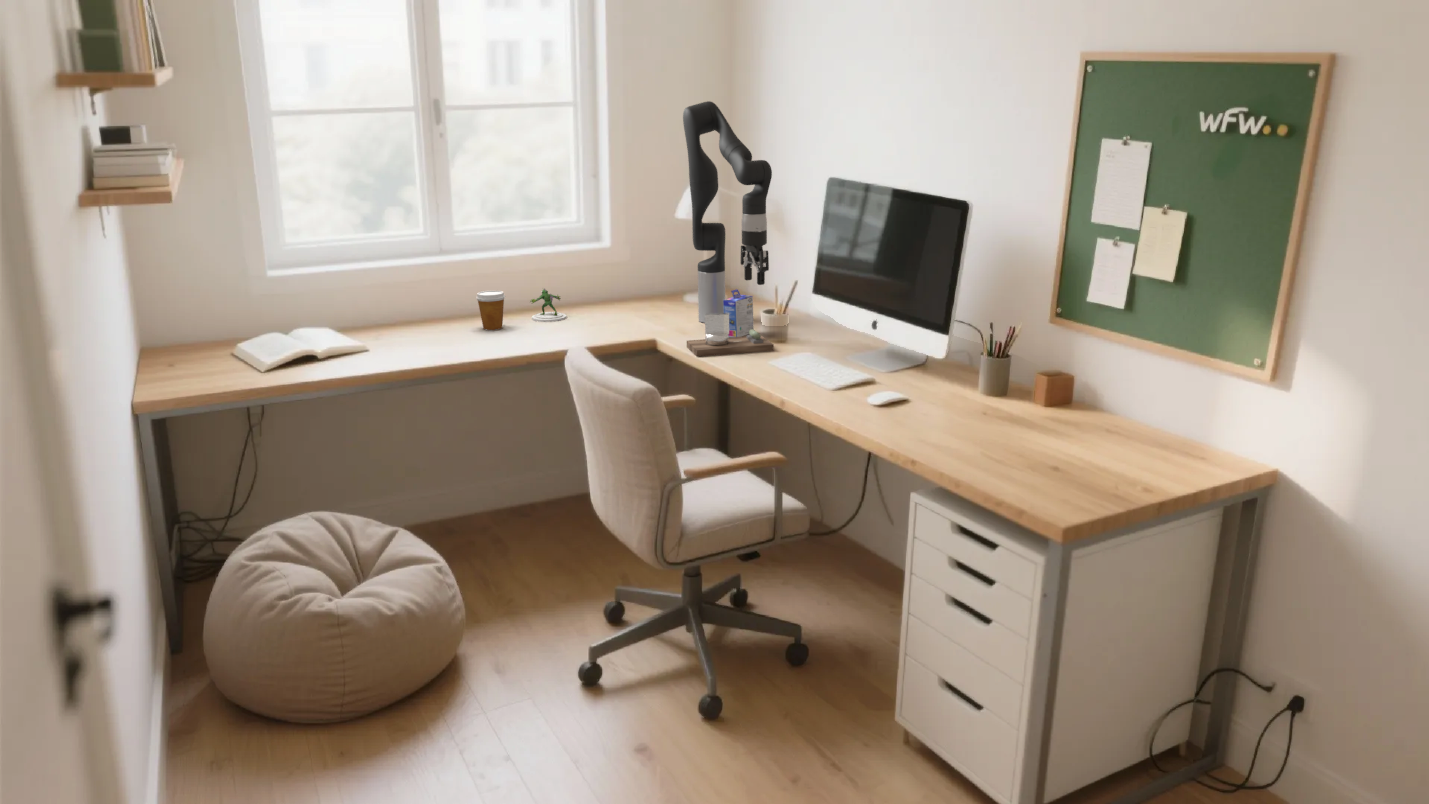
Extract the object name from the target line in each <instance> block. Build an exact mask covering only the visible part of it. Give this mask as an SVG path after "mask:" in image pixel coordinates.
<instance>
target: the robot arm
mask: <svg viewBox="0 0 1429 804" xmlns="http://www.w3.org/2000/svg"><path fill="white" fill-rule="evenodd" d="M682 123H683V124H682V125H683V130H684V137H685V142H686V149H687V158H688V160H687V161H688V178H689V189H690V191H689V192H690V198H691V215H692V216H691V217H692V228H691V229H692V245H693V247H694V249H695V250H696V251H701V252H703V251H704V252H706V251H707V252H708V251H709V252H711V251H712V252H715V253H714V254H713V255H712V256H710V257H709V258H706V259H704V260H701V261H699V262H698V263H697V295H698V296H697V298H698V299H697V301H698V303H697V305H698V306H697V307H698V313H697V314H698V321H699V322H700V323H704V324H705V314H722V313H724V305H723V300H725V299H726V261H725V258H726V255H725V254H726V253H725V251H726V227H725V225H724V223H722V222H703V218H704V215H705V213H706V212H707V210H708V208H709V206H710V205H711V203H712V202H713V200H714V199H715V197H716V196H717V193H718V191H719V176H718V175H719V174H718V168H717V166H716V164H715V163H714V162H713V161H712V159H711V158H710V157H709V156H708V155H707V153H706V152H705V151H704V149H703V147H702V145H701V140H700V139H701V138H700V137H701V135H704V134H708V133H711V132H713V131H714V132H717V133H718V134H719V140H718V147H719V152H720V154H721V156H722V157H723V158H724V159H725V160H726V161H727V163H728V164H729V165H730V166H731V169H732V170H733V173H734V176H735V178H736V180H737V182H738V183H740V184H741V185H743V186H752V185H753V189H752V191H750V192H748V193H745V194H744V195H742V202H741V203H742V215H741V217H742V218H741V243H742V245H741V246H740V265H741V266H742V267H743V269H744V271H743V273H744V280H745V281H751V280H752V279H753V266H754V267H755V269H756V284H757V285H759V286H762V285H763V286H764V285H765V283H766V282H765V281H766V280H765V277H766V276H765V275H766V272H767V271H769V270H770V269H769V268H770V263H769V260H770V259H769V250H764V248H763V247H764V246H766V245H767V243H768V242H767V241H768V220H767V219H768V218H767V197H768V194H769V189H770V186H771V181H772V179H773V178H772V176H773V170H772V166H771V165H770V163H769V162H768V161H767V160H765V159H758V160H757V159H756V160H753V154H752V152H751V150H750V149H749V148H748V147H747V146H746V145H745V144H744V143H743V141H741V140H740V139H739V137H738V136H737V135H736V133H735V132H734V129H732V127H731V125H730V123H729V122H728V120H727V119H726V117H725V116H724V114H723V113H722V111H721V109H720V107H718V105H717V104H715V103H714V102H713V101H711V100H709V101H708V100H707V101H703V102H700V103H699V102H698V103H696V104H693V105H689V106H687V107H685V108H684V109H683V113H682Z"/></svg>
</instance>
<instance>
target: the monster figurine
mask: <svg viewBox="0 0 1429 804" xmlns="http://www.w3.org/2000/svg"><path fill="white" fill-rule="evenodd" d="M553 299H556V300H558V301H561V296H559V294H557V295H555V294H552V293H549V291H548V290H547V289H546V288H544V287H543V289H542V290H541V294H540V295H539V297H537V298H536V299H535V298H532V299H530V300H529V301H530V302H529V303H531V304H534V303H536V302H538V301H540V300H543V302H544V303H543V304H541V305H542V306H541V310H542V311H541V312H540V313H536V314H533V315H532V316H531V320H532V321H534V322H537V321H538V322H539V323H553V322H560V321H564V320H566V319H567V314H566V313H563V312H557V310H556V308H555V306H554V305H553ZM548 306H549V307H550V308H551V309H552V310H553V311H545V308H546V307H548Z"/></svg>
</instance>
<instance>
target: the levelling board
mask: <svg viewBox="0 0 1429 804" xmlns="http://www.w3.org/2000/svg"><path fill="white" fill-rule="evenodd" d="M686 348H687V349H688V350H689V351H690V352H691V353H692V354H693V356H696V358H697V357H698V358H699V357H708V356H709V357H711V356H724V355H735V354H736V355H737V354H750V353H751V354H752V353H762V352H763V353H764V352H773V351H774V348H775V347H774V344H773V343H772V342H771V341H770V340H768V339H767V338H765V337H764V336H763V335H762V334H760V333H759V332H758V331H756V330H755V329H751V330H750V331H749V334H747V335H744V336H741V337H728V344H727V345H722V346H711V345H707V344H706V341H705V339H704V338H703V339H693V340H691V339H690V340H686Z"/></svg>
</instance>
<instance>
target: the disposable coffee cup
mask: <svg viewBox="0 0 1429 804" xmlns="http://www.w3.org/2000/svg"><path fill="white" fill-rule="evenodd" d="M505 297H506V295H505V293H504V291H502V290H484V291H482V290H481V291H479V292H477V293H476V297H475V298H476V301H477V304H478V309H479V315H480V318H481V323H482V327H483V330H485V329H487V330H488V331H495V329H497V330H501V329H502V328H503V323H504V321H503V320H504V306H505V305H504V304H505ZM487 330H486V331H487Z"/></svg>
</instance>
